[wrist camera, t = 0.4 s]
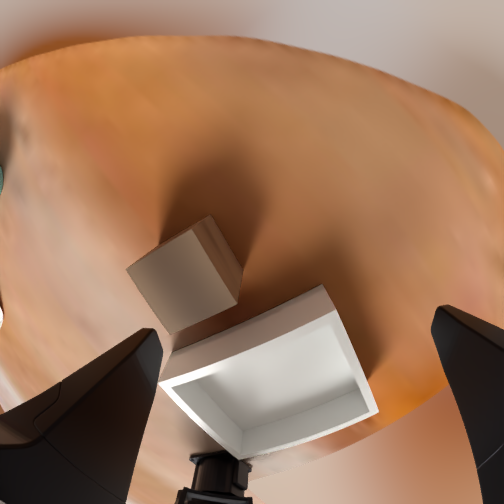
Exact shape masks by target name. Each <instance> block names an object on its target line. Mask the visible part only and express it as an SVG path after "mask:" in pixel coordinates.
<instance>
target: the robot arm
mask: <svg viewBox="0 0 504 504" xmlns="http://www.w3.org/2000/svg"><path fill="white" fill-rule="evenodd" d="M431 334H432V337H433V340H434V343H435V345H436V348H437V351H438V354H439V357H440V361H441V364H442V367H443V370H444V372H445V375H446V377H447V380H448V382H449V384H450V387H451V389H452V392H453V395H454V397H455V400H456V403H457V405H458V408H459V411H460V414H461V416H462V420H463V422H464V426H465V429H466V432H467V435H468V438H469V442H470V445H471V449H472V452H473V456H474V460H475V464H476V468H477V473H478V477H479V483H480V488H481V493H482V499H483V504H504V330H503V329H501V328H499V327H497V326H495V325H493V324H490V323H488V322H486V321H484V320H482V319H480V318H477V317H475V316H473V315H471V314H468V313H466V312H464V311H462V310H460V309H457V308H455V307H453V306H451V305H442V306H439V307H437V309H436V311H435V315H434V319H433V322H432V325H431ZM162 357H163V349H162V346H161V343H160V340H159V337H158V334H157V332H156V330H155V329H153V328H142V329H140V330H139V331H137V332H136V333H134V334H133V335H131V336H130V337H128V338H127V339H125V340H124V341H122V342H120V343H119V344H117V345H116V346H114V347H113V348H111V349H110V350H108V351H107V352H105V353H103V354H102V355H100V356H99V357H97V358H96V359H94V360H93V361H91V362H90V363H88V364H87V365H85V366H83V367H82V368H80V369H79V370H77V371H76V372H74V373H73V374H71V375H70V376H68V377H66V378H65V379H63V380H62V382H59V383H57V384H56V385H54V386H52V387H51V388H49V389H48V390H46V391H44V392H43V393H41V394H39V395H37V396H36V397H34V398H32V399H30V400H28V401H26V402H25V403H23V404H21V405H19V406H17V407H15V408H13V409H11V410H9V411H7V412H5V413H4V414H1V415H0V504H126V503H125V502H126V500H127V495H128V491H129V487H130V483H131V479H132V475H133V471H134V467H135V463H136V460H137V456H138V452H139V448H140V445H141V441H142V438H143V434H144V431H145V427H146V424H147V420H148V417H149V414H150V410H151V407H152V404H153V400H154V397H155V393H156V388H157V383H158V377H159V372H160V367H161V362H162ZM189 460H190V461H191V462H193V463H194V464H195V465H196V467H195V472H194V477H193V482H192V487H191V489H189V488H187V487H184V489H183V490H178V494H177V498H176V502H175V504H253V501H252V497H244V490H247V487H248V473H249V472H251V470H252V469H251V468H250V467H249V466H247V465H246V464H245V463H244V462H242V461H241V460H238V459H237V458H236V457H234V456H233V455H232V454H231V453H229V452H228V451H220V452H215V453H209V454H203V455H197V456H190V458H189Z"/></svg>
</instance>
